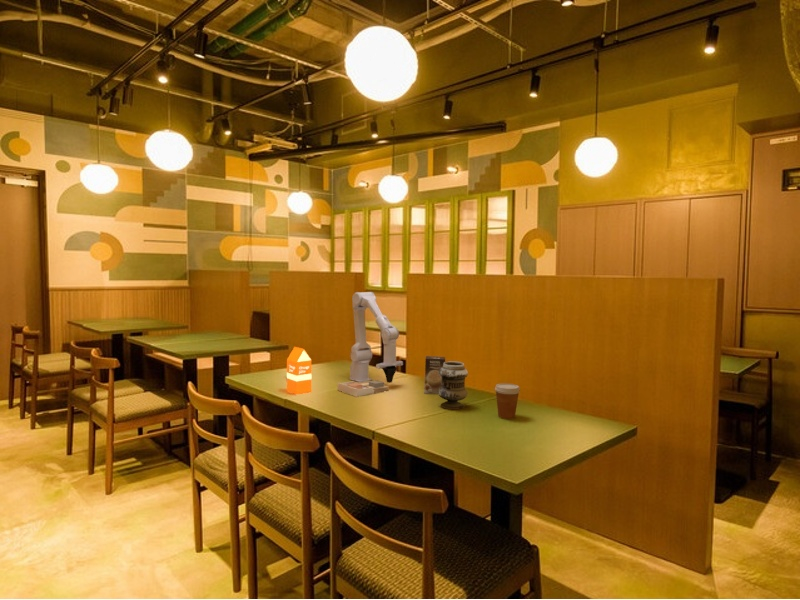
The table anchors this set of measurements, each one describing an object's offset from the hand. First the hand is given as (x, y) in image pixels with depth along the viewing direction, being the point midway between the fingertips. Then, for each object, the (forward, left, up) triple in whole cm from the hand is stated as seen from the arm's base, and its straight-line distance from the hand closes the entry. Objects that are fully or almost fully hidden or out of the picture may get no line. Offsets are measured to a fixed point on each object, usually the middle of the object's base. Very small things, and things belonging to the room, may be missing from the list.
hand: (389, 382), depth 241 cm
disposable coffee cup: (+63, +7, -3) cm, 63 cm away
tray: (-3, -17, -3) cm, 17 cm away
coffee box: (+19, +11, -3) cm, 22 cm away
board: (-3, -8, -3) cm, 9 cm away
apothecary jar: (+40, +1, -3) cm, 40 cm away
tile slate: (0, -8, -1) cm, 8 cm away
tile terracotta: (-7, -15, -2) cm, 17 cm away
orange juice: (-19, -37, -3) cm, 42 cm away
